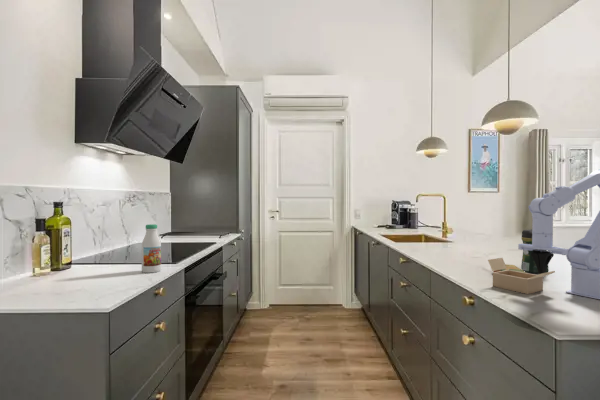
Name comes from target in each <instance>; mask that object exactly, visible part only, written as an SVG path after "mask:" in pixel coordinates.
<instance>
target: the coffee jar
mask: <svg viewBox="0 0 600 400" xmlns="http://www.w3.org/2000/svg"><path fill="white" fill-rule="evenodd" d="M521 240H522V244H531V245H532V229H531V228H530V229H523V230H522V231H521ZM535 250H539V249H535ZM543 251H547V250H543ZM532 252H533V251H530V250H522V255H521V256H522V257H521V264H520V265H521V267H520V269H521V270H523V271H525V272H526V273H529V274H539V273H538V269H537V266H536V263H535V261H534V259H533V257H532V256H531V253H532ZM547 272H550V271H549V265H548V266H547V269H546V273H547Z"/></svg>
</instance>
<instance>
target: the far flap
mask: <svg viewBox="0 0 600 400" xmlns="http://www.w3.org/2000/svg"><path fill="white" fill-rule="evenodd" d="M487 261H488V264H489V266H490V269H491V271H492V272H493V271H496V270H502V269H507V267H506V265H505V264H506V263H505V261H504V258H503V257H498V258H492V259H491V258H489V259H487Z"/></svg>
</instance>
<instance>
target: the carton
mask: <svg viewBox="0 0 600 400" xmlns="http://www.w3.org/2000/svg"><path fill="white" fill-rule="evenodd" d="M505 265H506V267H507V269H502V270H496V271H492V273H493V272H499V271H505V270H512V271H518V272H523V273H527V272H524V271H523V270H522V269H521V267H518V266H516V265H515V264H508V263H505Z"/></svg>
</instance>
